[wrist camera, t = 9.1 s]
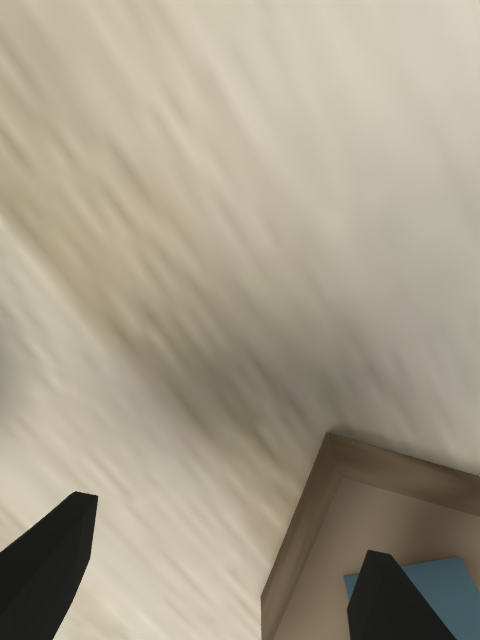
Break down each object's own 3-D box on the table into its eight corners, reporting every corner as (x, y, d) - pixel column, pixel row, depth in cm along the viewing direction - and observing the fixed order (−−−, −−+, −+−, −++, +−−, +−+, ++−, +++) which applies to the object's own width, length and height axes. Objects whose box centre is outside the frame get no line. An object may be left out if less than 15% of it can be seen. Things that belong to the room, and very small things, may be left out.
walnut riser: (525, 485, 21) (587, 547, 17) (438, 638, 23) (474, 721, 20) (325, 427, 20) (342, 477, 16) (260, 590, 23) (261, 665, 19)
